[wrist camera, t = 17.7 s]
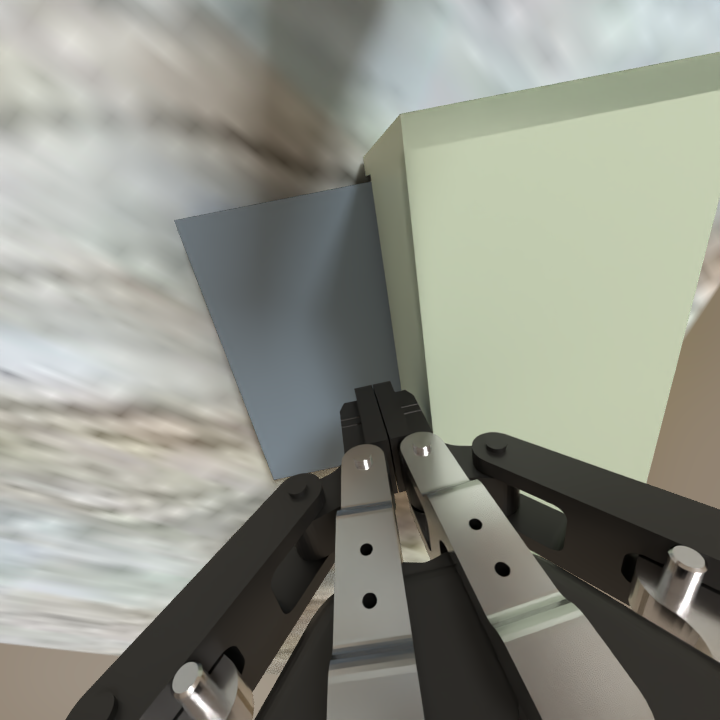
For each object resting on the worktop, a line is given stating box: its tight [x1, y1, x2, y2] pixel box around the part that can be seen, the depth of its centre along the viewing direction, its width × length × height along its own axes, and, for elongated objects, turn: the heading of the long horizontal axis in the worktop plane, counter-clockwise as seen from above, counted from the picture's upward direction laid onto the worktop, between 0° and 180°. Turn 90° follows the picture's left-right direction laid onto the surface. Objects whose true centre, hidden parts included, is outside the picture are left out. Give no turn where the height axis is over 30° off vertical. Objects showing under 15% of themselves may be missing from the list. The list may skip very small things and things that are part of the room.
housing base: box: [174, 182, 401, 480], centre depth 18 cm, size 20×16×6 cm
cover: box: [363, 52, 720, 556], centre depth 16 cm, size 9×18×9 cm, turn 10°
